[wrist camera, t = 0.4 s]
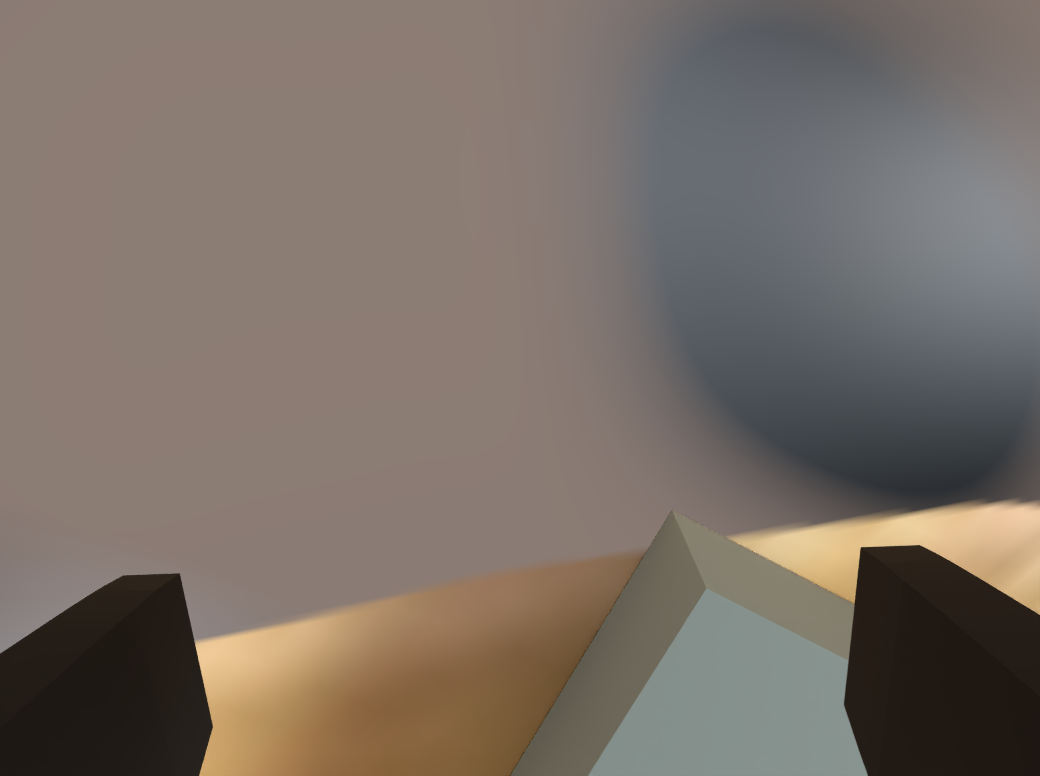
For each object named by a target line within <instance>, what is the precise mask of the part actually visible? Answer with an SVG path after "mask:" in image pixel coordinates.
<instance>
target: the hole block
mask: <svg viewBox="0 0 1040 776" xmlns="http://www.w3.org/2000/svg"><path fill="white" fill-rule="evenodd" d="M854 605H855V604H853V603H851V602H849V601H847V600H845V599H843V598H842V597H840V596H838V595H836V594H834V593H832V592H830V591H828V590H826V589H824V588H822V587H820V586H818V585H816V584H814V583H813V582H811V581H809V580H807V579H805V578H803V577H801V576H799V575H797V574H795V573H793V572H791V571H789V570H787V569H785V568H784V567H782V566H780V565H778V564H776V563H774V562H772V561H770V560H768V559H766V558H764V557H762V556H760V555H758V554H756V553H755V552H753V551H751V550H749V549H747V548H745V547H743V546H741V545H739V544H737V543H735V542H733V541H731V540H729V539H727V538H726V537H724V536H722V535H720V534H718V533H716V532H714V531H712V530H710V529H708V528H706V527H704V526H702V525H700V524H698V523H697V522H695V521H693V520H691V519H689V518H687V517H685V516H683V515H681V514H679V513H677V512H675V511H673V510H672V511H671V512H670V514H669V516H668V517H667V519H666V521H665V522H664V524H663V526H662V527H661V529H660V531H659V532H658V534H657V535H656V537H655V539H654V540H653V542H652V544H651V545H650V547H649V549H648V550H647V552H646V553H645V555H644V557H643V558H642V560H641V562H640V563H639V565H638V567H637V568H636V570H635V572H634V573H633V575H632V576H631V578H630V580H629V581H628V583H627V585H626V586H625V588H624V590H623V591H622V593H621V595H620V596H619V598H618V599H617V601H616V603H615V604H614V606H613V608H612V609H611V611H610V613H609V614H608V616H607V617H606V619H605V621H604V622H603V624H602V626H601V627H600V629H599V631H598V632H597V634H596V636H595V637H594V639H593V640H592V642H591V644H590V645H589V647H588V649H587V650H586V652H585V654H584V655H583V657H582V659H581V660H580V662H579V663H578V665H577V667H576V668H575V670H574V672H573V673H572V675H571V677H570V678H569V680H568V682H567V683H566V685H565V686H564V688H563V690H562V691H561V693H560V695H559V696H558V698H557V700H556V701H555V703H554V705H553V706H552V708H551V709H550V711H549V713H548V714H547V716H546V718H545V719H544V721H543V723H542V724H541V726H540V727H539V729H538V731H537V732H536V734H535V736H534V737H533V739H532V741H531V742H530V744H529V746H528V747H527V749H526V750H525V752H524V754H523V755H522V757H521V759H520V760H519V762H518V764H517V765H516V767H515V769H514V770H513V772H512V773H511V775H510V776H868V775H867V772H866V769H865V766H864V764H863V761H862V758H861V755H860V752H859V749H858V746H857V743H856V740H855V737H854V734H853V731H852V728H851V725H850V722H849V719H848V716H847V713H846V710H845V707H844V697H845V688H846V679H847V670H848V661H849V651H850V642H851V633H852V624H853V615H854Z"/></svg>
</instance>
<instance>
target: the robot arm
mask: <svg viewBox="0 0 1040 776" xmlns="http://www.w3.org/2000/svg"><path fill="white" fill-rule="evenodd" d="M844 707H845V710H846V713H847V716H848V719H849V722H850V725H851V728H852V731H853V734H854V737H855V740H856V743H857V746H858V749H859V752H860V755H861V758H862V761H863V764H864V766H865V769H866V772H867V775H868V776H1040V615H1039V614H1037V613H1036V612H1034V611H1032V610H1031V609H1029V608H1027V607H1026V606H1024V605H1022V604H1021V603H1019V602H1018V601H1016V600H1014V599H1013V598H1011V597H1009V596H1008V595H1006V594H1004V593H1003V592H1001V591H999V590H998V589H996V588H994V587H993V586H991V585H990V584H988V583H986V582H985V581H983V580H981V579H980V578H978V577H976V576H974V575H973V574H971V573H969V572H968V571H966V570H964V569H963V568H961V567H959V566H958V565H956V564H954V563H952V562H951V561H949V560H947V559H945V558H943V557H942V556H940V555H938V554H936V553H934V552H932V551H930V550H928V549H926V548H924V547H922V546H920V545H912V546H886V547H861V550H860V559H859V569H858V578H857V587H856V596H855V605H854V615H853V624H852V633H851V642H850V651H849V661H848V670H847V679H846V688H845V697H844ZM212 728H213V725H212V720H211V716H210V711H209V706H208V702H207V697H206V693H205V688H204V683H203V679H202V674H201V670H200V665H199V660H198V656H197V651H196V647H195V642H194V637H193V633H192V628H191V623H190V619H189V615H188V610H187V606H186V600H185V596H184V591H183V587H182V582H181V578H180V574H152V575H126V576H122V577H120V578H118V579H116V580H114V581H113V582H111V583H109V584H107V585H105V586H103V587H102V588H100V589H98V590H97V591H95V592H94V593H92V594H90V595H89V596H87V597H85V598H84V599H82V600H81V601H79V602H78V603H76V604H74V605H73V606H71V607H70V608H68V609H67V610H65V611H64V612H62V613H61V614H59V615H58V616H56V617H55V618H53V619H52V620H50V621H49V622H47V623H46V624H44V625H43V626H41V627H40V628H38V629H37V630H35V631H34V632H32V633H31V634H29V635H28V636H26V637H25V638H23V639H22V640H20V641H19V642H17V643H16V644H14V645H13V646H11V647H10V648H8V649H7V650H5V651H3V652H2V653H0V776H199V774H200V770H201V767H202V763H203V760H204V756H205V753H206V749H207V746H208V742H209V739H210V735H211V731H212Z"/></svg>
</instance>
